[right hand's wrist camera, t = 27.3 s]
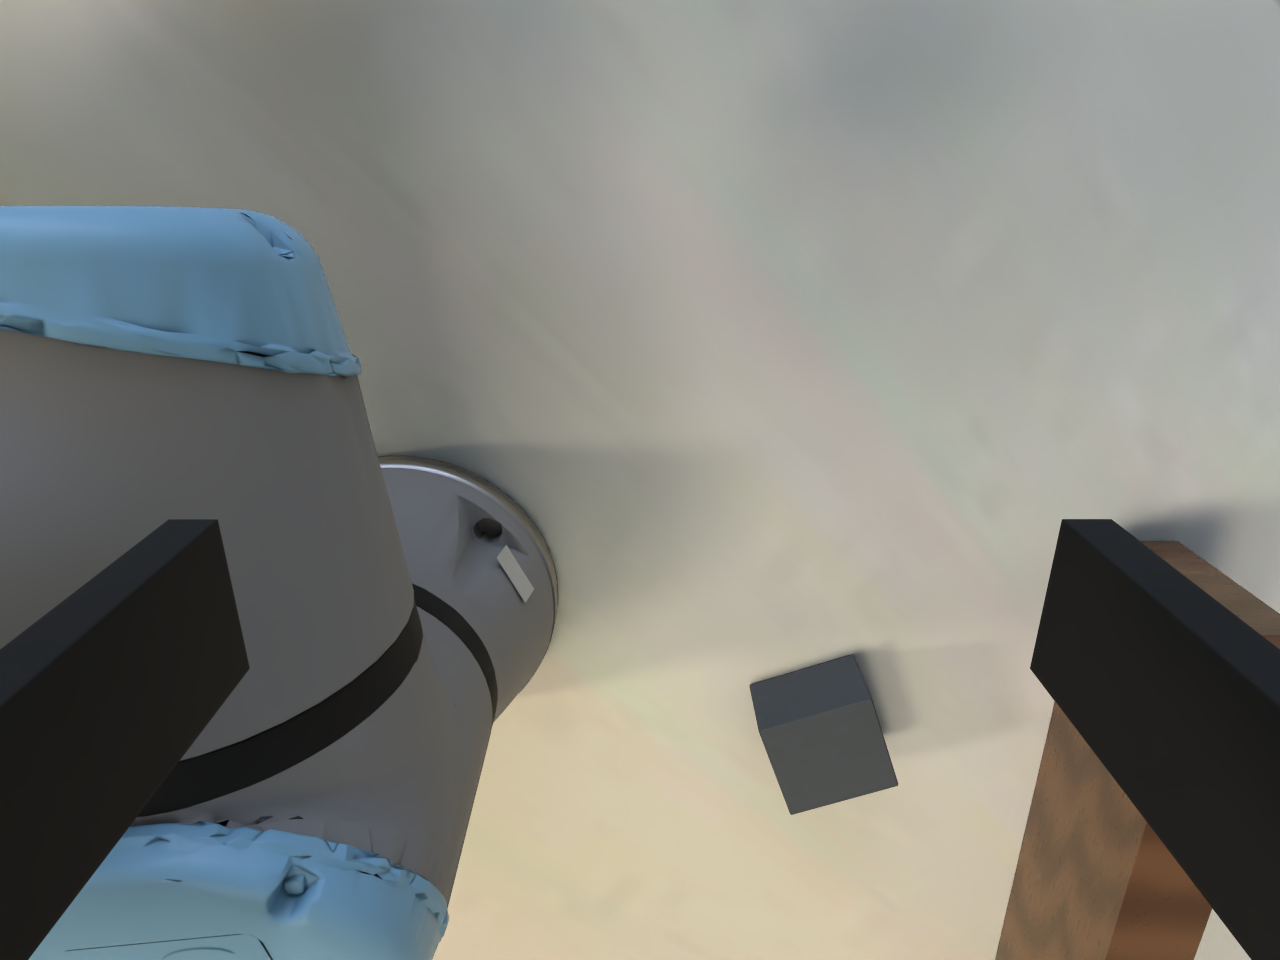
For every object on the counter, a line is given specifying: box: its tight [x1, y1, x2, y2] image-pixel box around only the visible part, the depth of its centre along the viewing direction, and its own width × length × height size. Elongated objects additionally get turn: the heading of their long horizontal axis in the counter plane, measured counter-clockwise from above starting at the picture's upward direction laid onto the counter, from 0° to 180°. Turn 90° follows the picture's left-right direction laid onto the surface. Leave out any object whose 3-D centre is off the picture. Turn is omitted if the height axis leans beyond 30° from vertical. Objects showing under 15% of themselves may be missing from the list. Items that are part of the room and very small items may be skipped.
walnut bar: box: [996, 541, 1280, 960], centre depth 44 cm, size 34×4×9 cm, turn 0°
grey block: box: [750, 655, 898, 815], centre depth 44 cm, size 6×6×4 cm
